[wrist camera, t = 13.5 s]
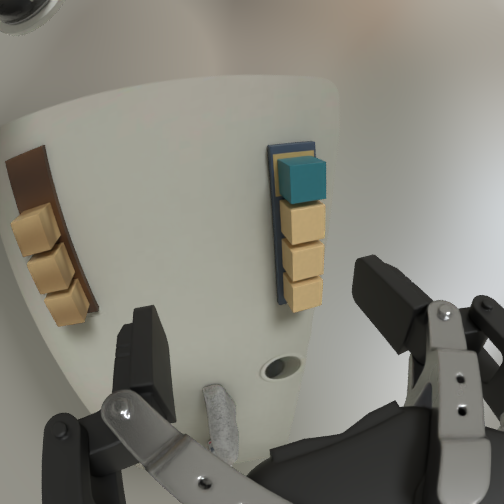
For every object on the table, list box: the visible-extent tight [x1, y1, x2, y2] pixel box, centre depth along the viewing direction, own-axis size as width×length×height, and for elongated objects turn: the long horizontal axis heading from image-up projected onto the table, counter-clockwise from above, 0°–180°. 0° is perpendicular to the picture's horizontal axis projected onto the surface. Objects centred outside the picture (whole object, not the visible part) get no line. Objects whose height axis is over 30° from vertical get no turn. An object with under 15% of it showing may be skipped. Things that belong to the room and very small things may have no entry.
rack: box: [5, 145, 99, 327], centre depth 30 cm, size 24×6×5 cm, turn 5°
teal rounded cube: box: [277, 156, 326, 204], centre depth 34 cm, size 4×4×4 cm
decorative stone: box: [203, 385, 239, 465], centre depth 48 cm, size 11×6×15 cm, turn 9°
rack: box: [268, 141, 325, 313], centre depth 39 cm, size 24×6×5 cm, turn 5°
